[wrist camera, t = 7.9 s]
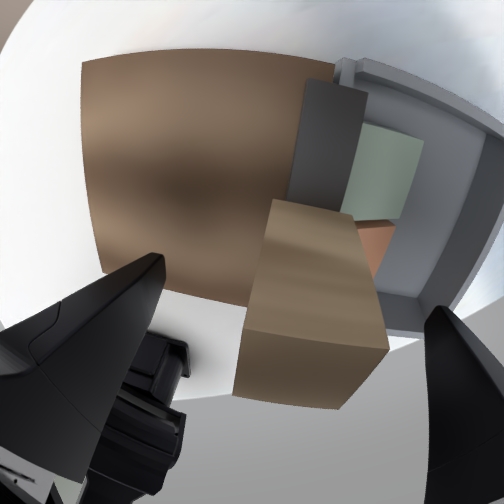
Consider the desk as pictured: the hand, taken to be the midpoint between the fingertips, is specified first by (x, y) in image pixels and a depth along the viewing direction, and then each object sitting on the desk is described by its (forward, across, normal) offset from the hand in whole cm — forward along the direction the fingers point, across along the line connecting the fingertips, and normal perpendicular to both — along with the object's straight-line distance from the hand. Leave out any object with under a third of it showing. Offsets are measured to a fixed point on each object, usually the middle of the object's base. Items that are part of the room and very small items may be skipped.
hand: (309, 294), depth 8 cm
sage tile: (+7, -3, -2) cm, 8 cm away
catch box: (+9, -6, 0) cm, 11 cm away
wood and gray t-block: (+6, 0, 0) cm, 6 cm away
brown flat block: (+9, +6, 0) cm, 11 cm away
